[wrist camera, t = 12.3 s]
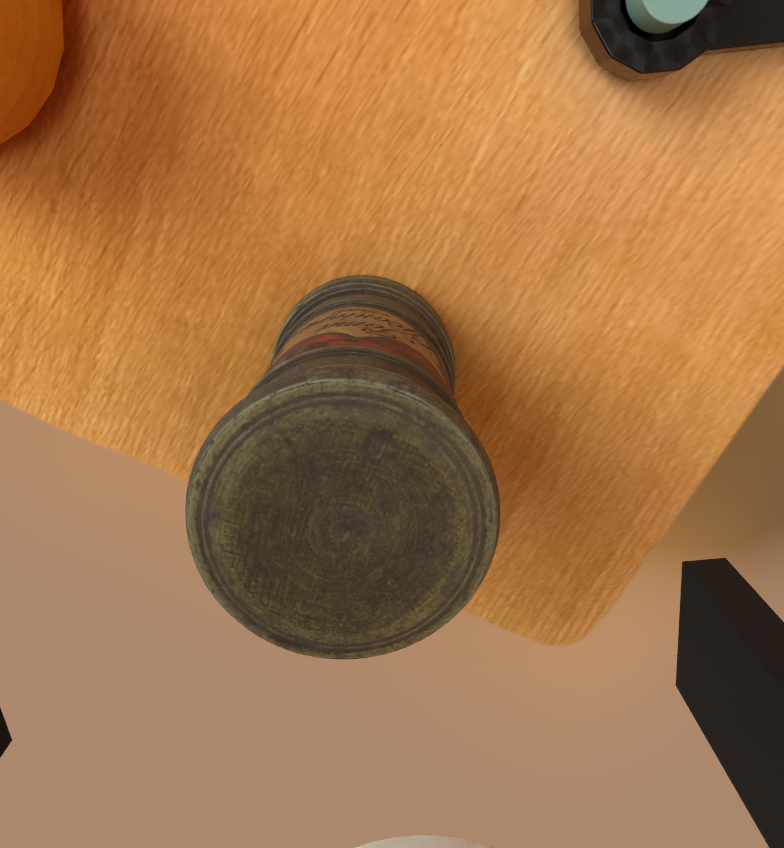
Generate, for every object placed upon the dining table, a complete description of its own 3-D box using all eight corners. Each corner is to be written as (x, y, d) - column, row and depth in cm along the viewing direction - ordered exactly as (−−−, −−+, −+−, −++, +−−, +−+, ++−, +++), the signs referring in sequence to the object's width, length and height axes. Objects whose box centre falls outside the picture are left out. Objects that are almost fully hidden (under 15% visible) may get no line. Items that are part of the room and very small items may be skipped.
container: (457, 438, 36) (520, 662, 19) (289, 451, 36) (202, 685, 19) (448, 266, 33) (514, 348, 16) (265, 281, 33) (137, 378, 16)
